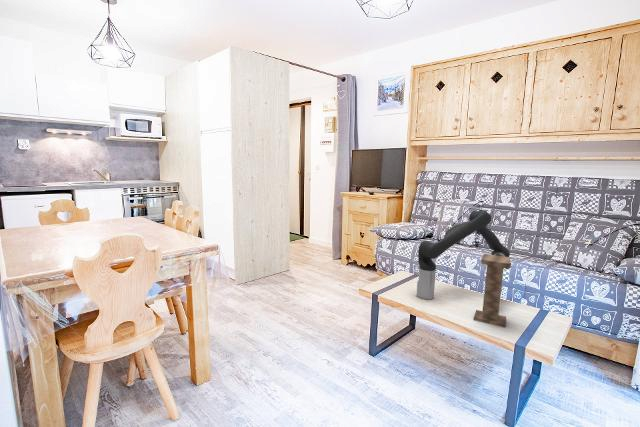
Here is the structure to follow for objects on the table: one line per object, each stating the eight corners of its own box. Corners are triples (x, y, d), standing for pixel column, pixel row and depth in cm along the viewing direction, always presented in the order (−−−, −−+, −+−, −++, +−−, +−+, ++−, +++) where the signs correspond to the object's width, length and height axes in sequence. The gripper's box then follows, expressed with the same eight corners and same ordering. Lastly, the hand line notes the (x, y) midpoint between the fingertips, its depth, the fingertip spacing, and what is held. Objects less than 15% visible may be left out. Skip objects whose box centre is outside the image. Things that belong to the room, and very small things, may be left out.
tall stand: (473, 320, 164) (479, 259, 160) (476, 311, 175) (481, 253, 171) (505, 328, 157) (512, 264, 152) (506, 318, 168) (512, 257, 163)
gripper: (486, 252, 202) (483, 259, 188) (513, 256, 195) (512, 263, 181) (485, 264, 204) (482, 271, 189) (511, 268, 196) (511, 276, 182)
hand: (497, 267), depth 185 cm, fingers closed on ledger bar, 4 cm apart
